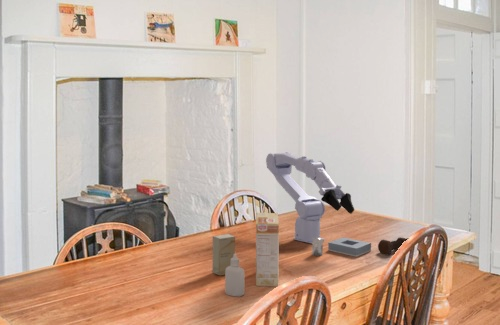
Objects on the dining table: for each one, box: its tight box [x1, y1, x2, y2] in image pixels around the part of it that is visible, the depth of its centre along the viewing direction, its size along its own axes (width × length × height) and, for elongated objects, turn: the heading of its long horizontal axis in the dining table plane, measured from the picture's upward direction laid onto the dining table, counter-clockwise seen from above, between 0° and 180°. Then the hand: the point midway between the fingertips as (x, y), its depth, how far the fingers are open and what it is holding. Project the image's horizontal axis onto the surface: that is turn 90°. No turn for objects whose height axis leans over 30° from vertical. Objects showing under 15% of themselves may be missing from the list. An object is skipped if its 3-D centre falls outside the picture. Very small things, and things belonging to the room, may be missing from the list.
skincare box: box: [212, 233, 236, 276], centre depth 186 cm, size 6×4×12 cm
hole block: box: [327, 236, 372, 258], centre depth 211 cm, size 12×10×3 cm
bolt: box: [377, 236, 409, 256], centre depth 212 cm, size 6×5×15 cm
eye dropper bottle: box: [224, 253, 245, 298], centre depth 166 cm, size 4×6×12 cm
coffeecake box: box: [255, 212, 280, 287], centre depth 180 cm, size 15×7×20 cm, turn 178°
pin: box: [311, 236, 324, 257], centre depth 206 cm, size 4×4×6 cm
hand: (345, 210), depth 205 cm, fingers open, 7 cm apart
